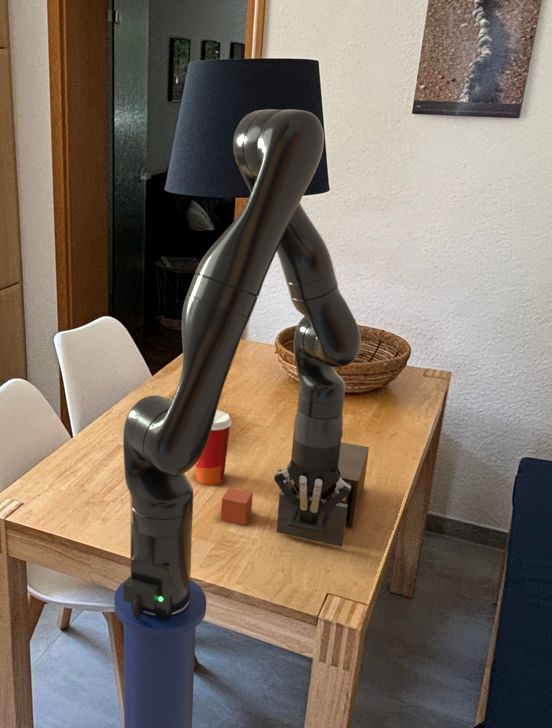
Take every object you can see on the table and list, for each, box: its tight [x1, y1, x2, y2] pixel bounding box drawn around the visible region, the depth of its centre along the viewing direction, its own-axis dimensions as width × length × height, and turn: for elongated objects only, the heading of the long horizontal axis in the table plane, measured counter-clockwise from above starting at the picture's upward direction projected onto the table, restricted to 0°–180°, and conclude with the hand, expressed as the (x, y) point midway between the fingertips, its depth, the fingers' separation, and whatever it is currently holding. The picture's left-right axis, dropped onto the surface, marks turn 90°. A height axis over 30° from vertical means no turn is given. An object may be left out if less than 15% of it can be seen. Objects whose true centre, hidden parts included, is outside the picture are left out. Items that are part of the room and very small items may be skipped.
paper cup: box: [194, 409, 233, 486], centre depth 154 cm, size 8×8×14 cm
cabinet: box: [289, 441, 370, 528], centre depth 146 cm, size 15×13×10 cm
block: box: [220, 486, 254, 526], centre depth 142 cm, size 5×5×5 cm
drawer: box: [275, 479, 353, 548], centre depth 137 cm, size 18×11×8 cm, turn 156°
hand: (307, 527), depth 131 cm, fingers closed
